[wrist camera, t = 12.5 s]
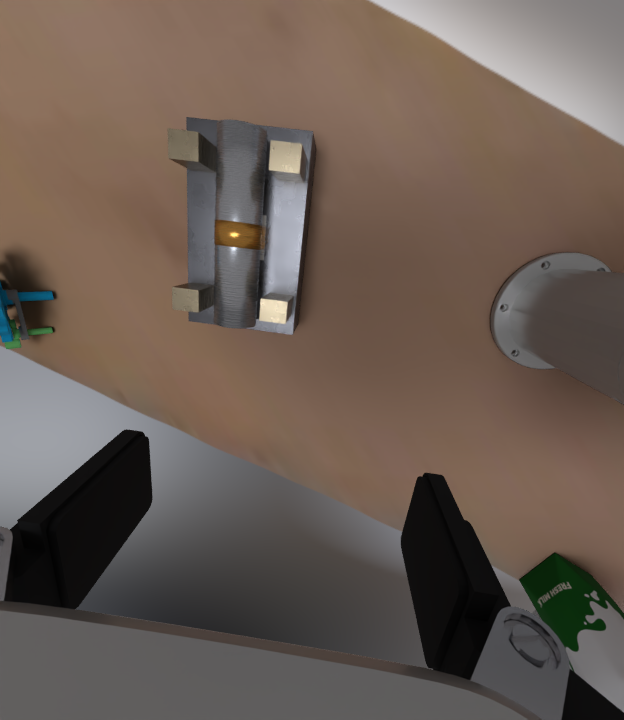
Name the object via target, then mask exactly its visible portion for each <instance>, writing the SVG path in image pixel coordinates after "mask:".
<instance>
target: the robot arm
mask: <svg viewBox="0 0 624 720" xmlns="http://www.w3.org/2000/svg"><path fill="white" fill-rule="evenodd" d="M542 263H543V265H542V267H541V264H542ZM501 305H502V308H501V309H500V306H501ZM490 322H491V332H492V335H493V339H494V341H495V343H496V345H497V346H498V348H499V349H500V350H501V351H502V352H503V354H504V355H506V356H507V357H508V358H510V359H511V360H513V361H515V362H516V363H518V364H520V365H523V366H526V367H529V368H534V369H554V368H557V369H559V370H561V371H563V372H565V373H566V374H568V375H570V376H572V377H574V378H576V379H577V380H579V381H581V382H583V383H585V384H586V385H588V386H590V387H592V388H594V389H596V390H597V391H599V392H601V393H603V394H605V395H607V396H608V397H610V398H612V399H614V400H616V401H618V402H619V403H621V404H623V405H624V273H617V272H612V271H611V270H610V269H609V267H608V266H606V265H605V264H604V263H603V262H601V261H600V260H598V259H596V258H594V257H592V256H590V255H585V254H581V253H570V252H565V253H554V254H550V255H546V256H542V257H540V258H537V259H535V260H533V261H531V262H529V263H527V264H526V265H524V266H523V267H521V268H520V269H518V270H517V271H516V272H515V273H514V274H513V275H512V276H511V277H510V278H509V279H508V280H507V281H506V282H505V284H504V285H503V286H502V288H501V289H500V291H499V293H498V295H497V296H496V298H495V301H494V304H493V307H492V312H491V318H490ZM512 351H513V352H512ZM151 503H152V483H151V467H150V450H149V439H148V437H145V435H144V433H143V432H140V431H134V430H124V431H122V432H121V433H120V434H119V435H117V436H116V437H115V438H114V439H113V440H112V441H111V442H109V443H108V444H107V445H106V446H104V447H103V448H102V449H101V450H100V451H99V452H97V453H96V454H95V455H94V456H93V457H91V458H90V459H89V460H88V461H87V462H86V463H84V464H83V465H82V466H81V467H80V468H79V469H77V470H76V471H75V472H74V473H73V474H71V475H70V476H69V477H68V478H67V479H66V480H64V481H63V482H62V483H61V484H60V485H59V486H57V487H56V488H55V489H54V490H53V491H51V492H50V493H49V494H48V495H47V496H46V497H44V498H43V499H42V500H41V501H40V502H38V503H37V504H36V505H35V506H34V507H33V508H31V509H30V510H29V511H28V512H27V513H26V514H24V515H23V516H22V517H21V518H20V519H18V520H17V521H18V523H17V524H16V525H15V526H14V527H12V528H11V529H10V530H9V529H7V528H4V527H0V720H624V712H622V711H621V710H620V709H619V708H618V707H616V706H615V705H614V704H613V703H611V702H610V701H609V700H608V699H607V698H605V697H604V696H603V695H602V694H600V693H599V692H598V691H597V690H596V689H594V688H593V687H592V686H591V685H589V684H588V683H587V682H586V681H585V680H583V679H582V678H581V677H580V676H579V675H577V674H576V673H575V672H574V671H572V670H571V669H570V665H569V657H568V654H567V652H566V649H565V647H564V645H563V644H562V642H561V641H560V639H559V638H558V636H557V635H556V634H555V633H554V632H553V630H552V629H551V628H550V627H549V626H548V625H547V624H546V623H544V622H543V621H542V620H541V619H540V618H538V617H537V616H535V615H534V614H532V613H530V612H529V611H527V610H524V609H521V608H518V607H511V605H510V603H509V601H508V599H507V597H506V595H505V593H504V591H503V589H502V587H501V585H500V583H499V581H498V579H497V577H496V574H495V572H494V571H493V568H492V566H491V564H490V562H489V560H488V558H487V556H486V554H485V552H484V550H483V548H482V546H481V544H480V541H479V539H478V537H477V535H476V533H475V531H474V529H473V527H472V526H471V524H470V523H469V522H468V521H466V520H464V519H463V517H462V515H461V512H460V510H459V508H458V506H457V504H456V502H455V500H454V497H453V495H452V493H451V491H450V489H449V487H448V485H447V482H446V480H445V478H444V477H443V476H442V475H438V474H431V473H424V474H423V477H421V476H419V477H418V478H417V481H416V484H415V488H414V492H413V495H412V499H411V503H410V506H409V510H408V513H407V517H406V521H405V524H404V528H403V532H402V536H401V548H402V554H403V558H404V563H405V568H406V572H407V577H408V581H409V586H410V591H411V596H412V600H413V605H414V609H415V614H416V618H417V624H418V628H419V633H420V638H421V642H422V647H423V652H424V656H425V661H426V664H427V666H428V668H432V669H433V670H431V669H427V668H422V667H417V666H412V665H407V664H401V663H396V662H391V661H385V660H380V659H375V658H370V657H364V656H358V655H352V654H346V653H341V652H335V651H328V650H323V649H317V648H311V647H305V646H300V645H294V644H287V643H282V642H276V641H270V640H264V639H258V638H252V637H246V636H239V635H233V634H227V633H221V632H215V631H208V630H203V629H196V628H190V627H184V626H178V625H172V624H165V623H159V622H153V621H146V620H140V619H134V618H127V617H120V616H114V615H108V614H102V613H95V612H89V611H82V610H75V609H76V608H77V607H78V606H79V605H80V604H81V602H82V601H83V600H84V598H85V597H86V595H87V594H88V592H89V591H90V590H91V588H92V587H93V586H94V584H95V583H96V582H97V580H98V579H99V577H100V576H101V575H102V573H103V572H104V570H105V569H106V568H107V566H108V565H109V564H110V562H111V561H112V559H113V558H114V557H115V555H116V554H117V552H118V551H119V550H120V548H121V547H122V546H123V544H124V543H125V542H126V540H127V539H128V537H129V536H130V534H131V533H132V532H133V530H134V529H135V528H136V526H137V525H138V523H139V522H140V521H141V519H142V518H143V517H144V515H145V514H146V512H147V511H148V510H149V508H150V506H151Z"/></svg>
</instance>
